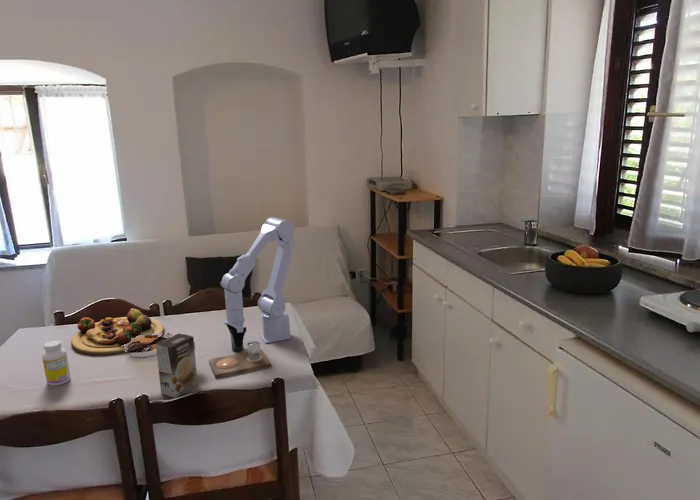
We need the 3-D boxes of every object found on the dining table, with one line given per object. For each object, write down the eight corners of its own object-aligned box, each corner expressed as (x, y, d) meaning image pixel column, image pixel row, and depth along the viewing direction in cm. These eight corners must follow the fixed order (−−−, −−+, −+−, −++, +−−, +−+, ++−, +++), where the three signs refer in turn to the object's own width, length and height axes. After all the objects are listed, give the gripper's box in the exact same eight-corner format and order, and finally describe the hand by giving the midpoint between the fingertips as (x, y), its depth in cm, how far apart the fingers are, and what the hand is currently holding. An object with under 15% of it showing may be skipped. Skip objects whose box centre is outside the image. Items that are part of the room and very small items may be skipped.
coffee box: (175, 398, 160) (169, 348, 156) (160, 393, 163) (154, 343, 159) (198, 384, 168) (193, 336, 164) (183, 380, 171) (178, 332, 167)
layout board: (261, 352, 189) (260, 335, 187) (271, 366, 178) (270, 348, 177) (208, 362, 182) (207, 344, 180) (215, 378, 171) (213, 359, 170)
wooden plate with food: (51, 348, 197) (47, 327, 194) (119, 316, 225) (116, 297, 223) (119, 364, 185) (116, 342, 182) (182, 328, 213) (180, 308, 211)
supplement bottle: (52, 376, 175) (46, 339, 172) (74, 375, 176) (68, 338, 172) (43, 387, 169) (36, 348, 165) (65, 385, 169) (58, 347, 166)
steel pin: (242, 346, 194) (240, 327, 192) (244, 350, 191) (243, 331, 189) (230, 348, 193) (229, 329, 191) (233, 352, 189) (231, 333, 187)
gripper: (218, 302, 193) (221, 338, 196) (227, 316, 180) (230, 354, 183) (238, 299, 195) (241, 335, 199) (248, 313, 182) (251, 350, 186)
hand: (237, 344), depth 191 cm, fingers closed on steel pin, 4 cm apart
